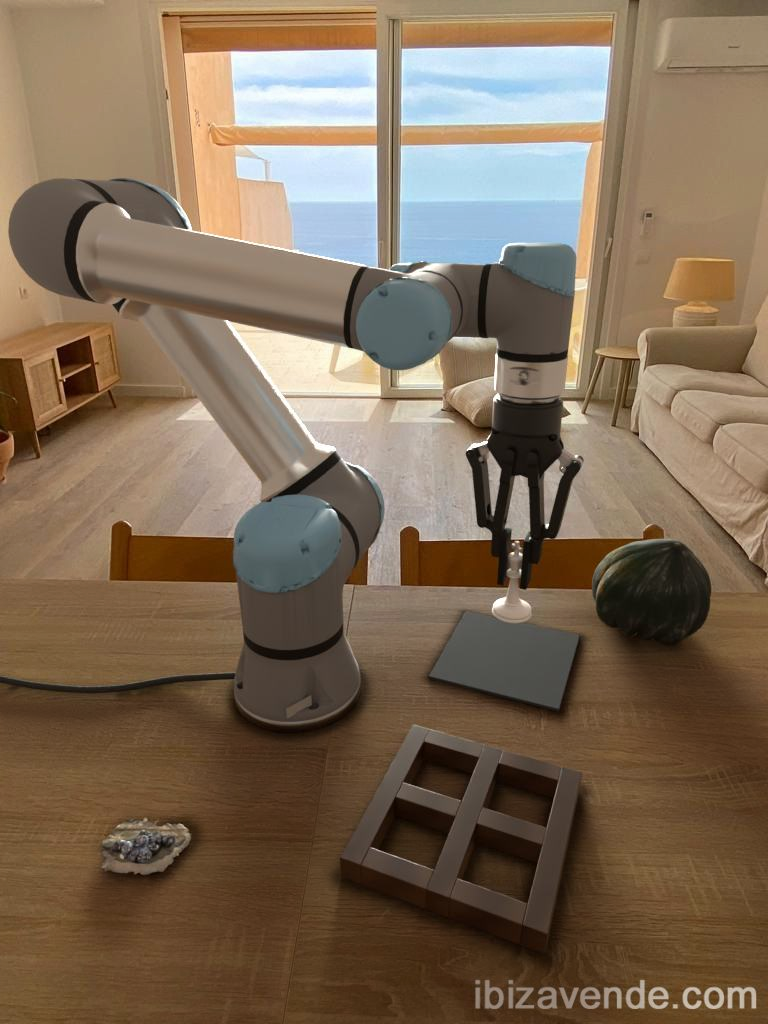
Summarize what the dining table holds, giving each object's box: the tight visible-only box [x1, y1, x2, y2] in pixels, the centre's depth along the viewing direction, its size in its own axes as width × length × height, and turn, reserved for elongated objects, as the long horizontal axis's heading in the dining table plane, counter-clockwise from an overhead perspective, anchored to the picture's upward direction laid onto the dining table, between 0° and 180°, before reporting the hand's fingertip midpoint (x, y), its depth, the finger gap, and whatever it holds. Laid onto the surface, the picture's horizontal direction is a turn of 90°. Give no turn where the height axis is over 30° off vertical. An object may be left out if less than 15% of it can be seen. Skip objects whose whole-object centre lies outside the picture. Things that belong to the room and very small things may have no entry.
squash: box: [591, 538, 712, 646], centre depth 93 cm, size 14×15×15 cm
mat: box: [428, 610, 581, 712], centre depth 90 cm, size 16×16×1 cm
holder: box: [339, 724, 583, 955], centre depth 65 cm, size 18×18×2 cm
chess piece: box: [491, 540, 533, 623], centre depth 85 cm, size 5×5×10 cm
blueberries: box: [100, 817, 192, 876], centre depth 64 cm, size 7×8×2 cm
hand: (513, 581), depth 85 cm, fingers closed on chess piece, 2 cm apart
